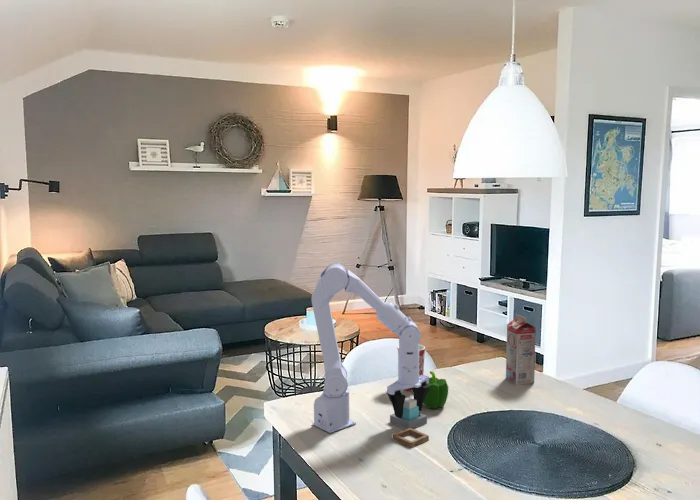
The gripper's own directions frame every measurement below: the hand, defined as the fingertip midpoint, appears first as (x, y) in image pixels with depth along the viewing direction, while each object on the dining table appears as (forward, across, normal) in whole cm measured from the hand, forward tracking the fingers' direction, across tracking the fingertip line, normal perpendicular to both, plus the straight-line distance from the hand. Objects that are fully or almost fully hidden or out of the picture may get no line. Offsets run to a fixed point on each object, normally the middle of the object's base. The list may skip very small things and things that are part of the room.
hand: (408, 413), depth 163 cm
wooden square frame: (+3, -8, -8) cm, 11 cm away
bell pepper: (+3, +14, +4) cm, 15 cm away
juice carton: (+3, +52, 0) cm, 53 cm away
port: (+3, 0, 0) cm, 3 cm away
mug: (+3, +20, +18) cm, 26 cm away
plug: (+2, 0, 0) cm, 2 cm away
